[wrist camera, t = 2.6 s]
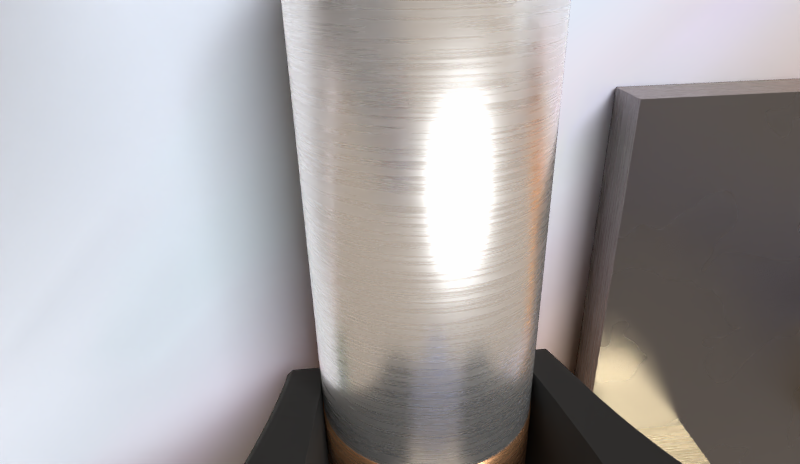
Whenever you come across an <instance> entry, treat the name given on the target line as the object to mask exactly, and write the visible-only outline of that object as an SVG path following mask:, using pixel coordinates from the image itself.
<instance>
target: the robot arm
mask: <svg viewBox="0 0 800 464" xmlns="http://www.w3.org/2000/svg"><path fill="white" fill-rule="evenodd" d="M244 464H329V458H328V449H327V439H326V430H325V421H324V411H323V392H322V382H321V373H320V368H313V369H301V370H292V371H291V372H290V373H289V374H288V376H287V379H286V382H285V384H284V387H283V389H282V392H281V394H280V396H279V399H278V401H277V403H276V405H275V407H274V410H273V412H272V414H271V416H270V418H269V420H268V422H267V424H266V426H265V427H264V429H263V431H262V433H261V435H260V437H259V439H258V441H257V442H256V444H255V446H254V448H253V450H252V451H251V453H250V455H249V457H248V458H247V460H246V462H245V463H244ZM525 464H683V463H681V462H680V461H678V460H677V459H675V458H674V457H673V456H671V455H670V454H668V453H667V452H666V451H664V450H663V449H662V448H660V447H659V446H658V445H656V444H655V443H654V442H652V441H651V440H650V439H649V438H647V437H646V436H645V435H643V434H642V433H641V432H639V431H638V430H637V429H636V428H634V427H633V426H632V425H631V424H629V423H628V422H627V421H626V420H625V419H623V418H622V417H621V416H620V415H619V414H617V413H616V412H615V411H614V410H613V409H612V408H610V407H609V406H608V405H607V404H606V403H605V402H603V401H602V400H601V399H600V398H599V397H598V396H597V395H596V394H594V393H593V392H592V391H591V390H590V389H589V388H588V387H587V386H586V385H585V384H583V383H582V382H581V381H580V380H579V379H578V378H577V377H576V376H575V375H574V374H573V373H571V372H570V371H569V370H568V369H567V368H566V367H565V366H564V365H563V364H562V363H561V362H560V361H558V360H557V359H556V358H555V357H554V356H553V355H552V354H551V353H550V352H549V351H548V350H546V349H538V350H535V359H534V369H533V379H532V389H531V410H530V419H529V429H528V439H527V448H526V458H525Z"/></svg>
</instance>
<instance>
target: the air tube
mask: <svg viewBox="0 0 800 464" xmlns="http://www.w3.org/2000/svg"><path fill="white" fill-rule="evenodd" d="M281 4H282V14H283V23H284V33H285V42H286V51H287V61H288V70H289V80H290V89H291V99H292V108H293V118H294V127H295V136H296V146H297V155H298V165H299V174H300V184H301V193H302V203H303V212H304V222H305V231H306V240H307V250H308V259H309V269H310V278H311V288H312V297H313V307H314V316H315V326H316V335H317V344H318V354H319V363H320V373H321V382H322V392H323V411H324V421H325V430H326V439H327V449H328V458H329V464H525V458H526V448H527V439H528V429H529V419H530V410H531V389H532V379H533V369H534V359H535V350H536V340H537V330H538V320H539V310H540V300H541V291H542V281H543V271H544V261H545V251H546V242H547V232H548V222H549V212H550V202H551V192H552V183H553V173H554V163H555V153H556V143H557V133H558V124H559V114H560V104H561V94H562V84H563V75H564V65H565V55H566V45H567V35H568V25H569V16H570V6H571V0H281Z"/></svg>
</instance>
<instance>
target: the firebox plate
mask: <svg viewBox="0 0 800 464" xmlns="http://www.w3.org/2000/svg"><path fill="white" fill-rule="evenodd" d="M575 376H576V377H577V378H578V379H579V380H580V381H581V382H582V383H583V384H585V385H586V386H587V387H588V388H589V389H590V390H591V391H592V392H593V393H594V394H596V395H597V396H598V397H599V398H600V399H601V400H602V401H603V402H605V403H606V404H607V405H608V406H609V407H610V408H612V409H613V410H614V411H615V412H616V413H617V414H619V415H620V416H621V417H622V418H623V419H625V420H626V421H627V422H628V423H629V424H631V425H632V426H633V427H634V428H636V429H637V430H638V431H639V432H641V433H642V434H643V435H645V436H646V437H647V438H649V439H650V440H651V441H652V442H654V443H655V444H656V445H658V446H659V447H660V448H662V449H663V450H664V451H666V452H667V453H668V454H670V455H671V456H673V457H674V458H675V459H677V460H678V461H680V462H681V463H683V464H800V79H780V80H758V81H737V82H715V83H694V84H672V85H650V86H629V87H616V91H615V98H614V105H613V112H612V119H611V126H610V133H609V140H608V147H607V154H606V161H605V168H604V175H603V182H602V189H601V196H600V203H599V210H598V217H597V224H596V231H595V238H594V245H593V252H592V259H591V266H590V273H589V280H588V287H587V294H586V301H585V308H584V315H583V322H582V329H581V336H580V343H579V350H578V357H577V364H576V371H575Z"/></svg>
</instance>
